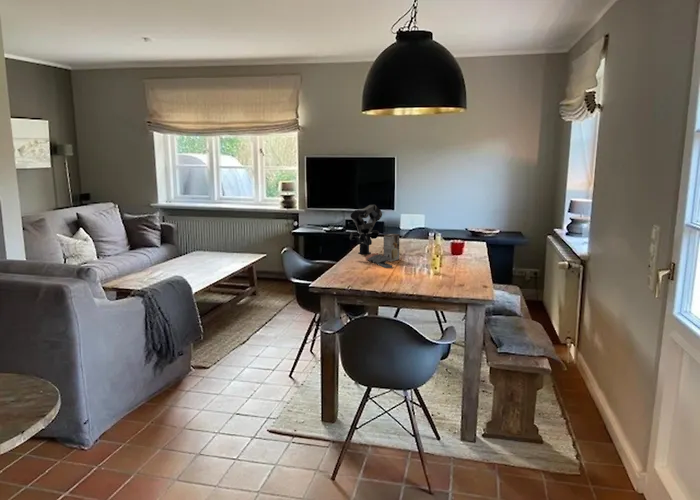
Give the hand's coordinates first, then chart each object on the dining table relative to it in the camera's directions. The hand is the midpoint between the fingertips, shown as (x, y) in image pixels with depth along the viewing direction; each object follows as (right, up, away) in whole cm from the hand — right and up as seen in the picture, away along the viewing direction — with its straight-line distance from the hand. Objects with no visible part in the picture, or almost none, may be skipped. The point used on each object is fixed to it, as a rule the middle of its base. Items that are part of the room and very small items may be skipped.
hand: (368, 245), depth 341 cm
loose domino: (0, -8, -1) cm, 8 cm away
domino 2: (+4, -9, -10) cm, 14 cm away
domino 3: (+6, -10, -14) cm, 18 cm away
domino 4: (+7, -11, -16) cm, 21 cm away
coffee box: (+14, -9, -2) cm, 17 cm away
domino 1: (+2, -9, -5) cm, 10 cm away
